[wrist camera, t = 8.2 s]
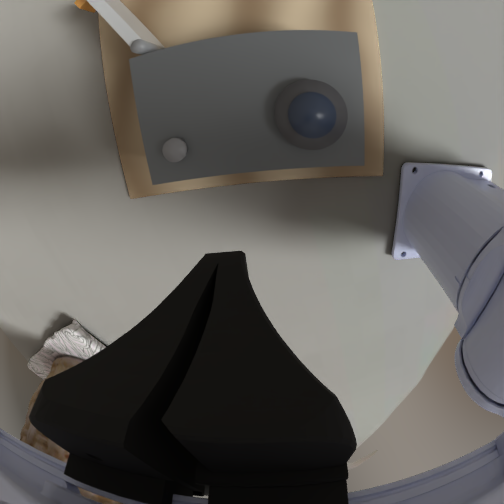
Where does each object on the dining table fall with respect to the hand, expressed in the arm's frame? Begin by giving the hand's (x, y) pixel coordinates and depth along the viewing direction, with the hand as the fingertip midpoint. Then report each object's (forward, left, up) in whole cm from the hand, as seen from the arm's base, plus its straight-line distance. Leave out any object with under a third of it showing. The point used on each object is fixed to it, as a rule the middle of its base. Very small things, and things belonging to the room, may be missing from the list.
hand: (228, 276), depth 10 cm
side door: (+6, -12, -10) cm, 17 cm away
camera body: (-1, -5, -10) cm, 12 cm away
